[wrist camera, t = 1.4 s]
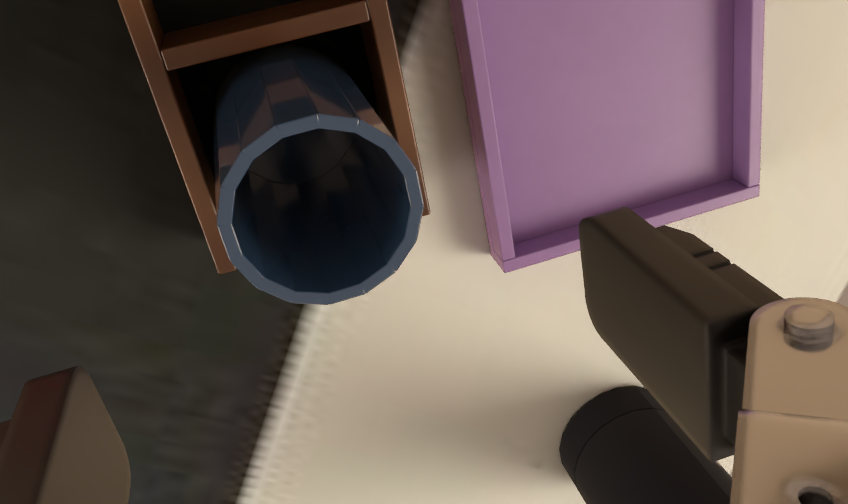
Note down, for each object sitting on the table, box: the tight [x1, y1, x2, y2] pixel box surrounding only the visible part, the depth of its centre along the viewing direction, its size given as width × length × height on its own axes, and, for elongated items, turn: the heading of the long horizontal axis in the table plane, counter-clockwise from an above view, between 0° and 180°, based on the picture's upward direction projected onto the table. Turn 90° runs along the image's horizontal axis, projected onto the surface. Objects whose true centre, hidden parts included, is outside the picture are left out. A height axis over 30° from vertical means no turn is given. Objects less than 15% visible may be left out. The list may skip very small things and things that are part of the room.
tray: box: [449, 0, 765, 273], centre depth 31 cm, size 14×12×2 cm
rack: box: [117, 0, 430, 274], centre depth 26 cm, size 16×8×3 cm, turn 11°
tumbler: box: [213, 44, 424, 305], centre depth 25 cm, size 6×6×10 cm
